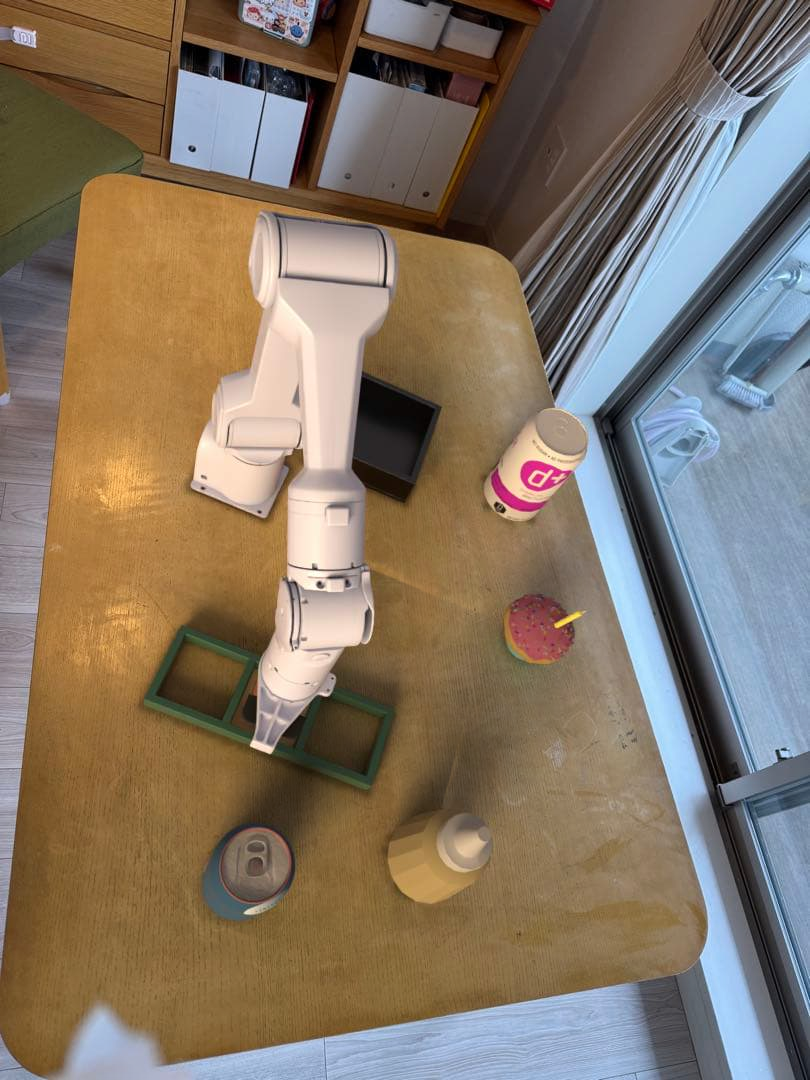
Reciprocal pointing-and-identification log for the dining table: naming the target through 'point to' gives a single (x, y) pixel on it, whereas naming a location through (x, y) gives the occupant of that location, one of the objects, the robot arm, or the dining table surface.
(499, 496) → the supplement can
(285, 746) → the rack
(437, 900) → the squeeze bottle
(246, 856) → the soda can
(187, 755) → the dining table surface
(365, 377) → the open box
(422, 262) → the dining table surface
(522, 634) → the cupcake
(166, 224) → the dining table surface
